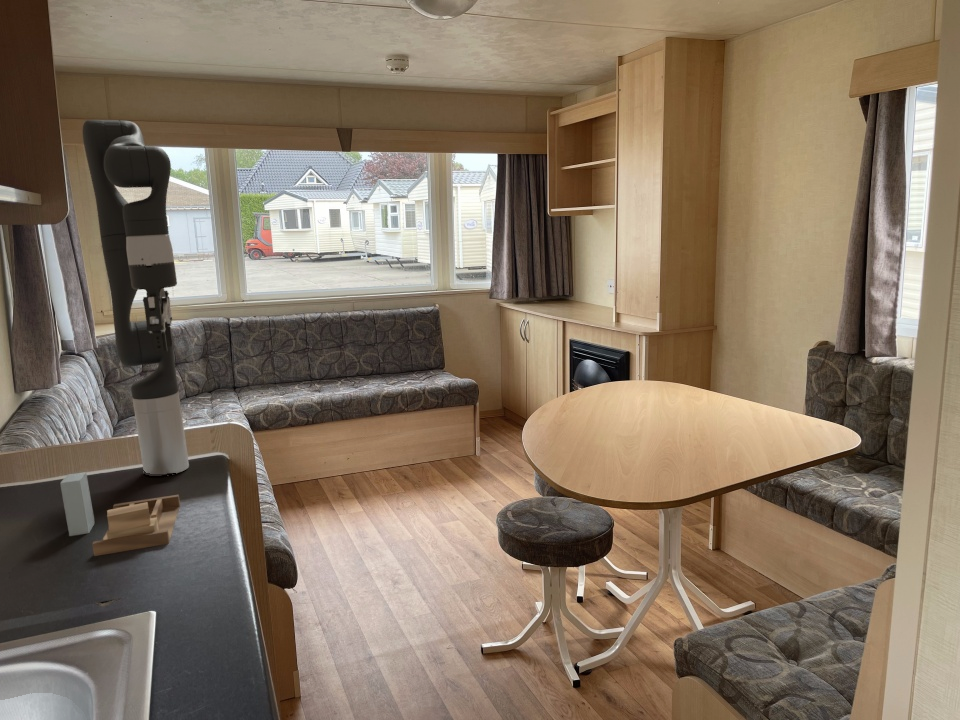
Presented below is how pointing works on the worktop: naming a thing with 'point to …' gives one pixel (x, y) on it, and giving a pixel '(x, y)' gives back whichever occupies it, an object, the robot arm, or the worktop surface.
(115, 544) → the rack
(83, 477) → the block
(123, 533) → the offcut low
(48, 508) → the worktop surface
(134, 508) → the offcut top
